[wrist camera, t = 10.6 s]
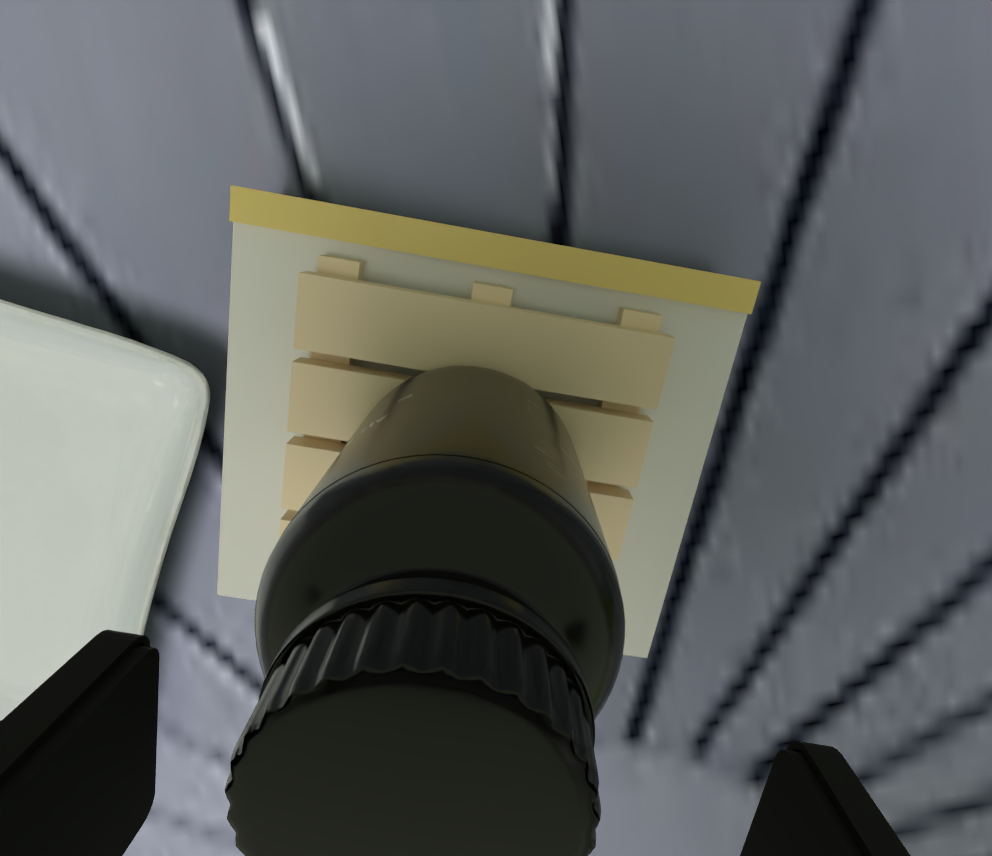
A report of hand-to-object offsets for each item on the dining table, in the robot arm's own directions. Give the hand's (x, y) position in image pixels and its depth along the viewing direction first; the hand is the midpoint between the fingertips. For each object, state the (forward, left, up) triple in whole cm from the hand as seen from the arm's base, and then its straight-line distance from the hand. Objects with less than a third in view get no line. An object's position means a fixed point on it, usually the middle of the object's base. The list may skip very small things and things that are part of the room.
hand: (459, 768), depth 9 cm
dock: (+1, -1, -16) cm, 16 cm away
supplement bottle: (+1, -1, -11) cm, 11 cm away
